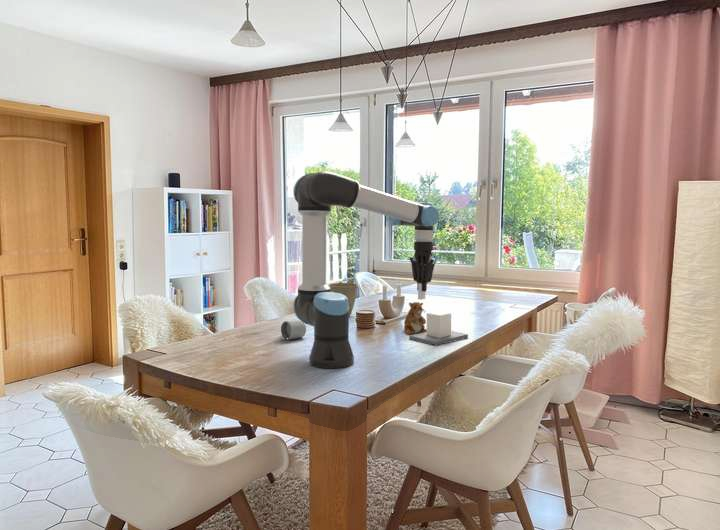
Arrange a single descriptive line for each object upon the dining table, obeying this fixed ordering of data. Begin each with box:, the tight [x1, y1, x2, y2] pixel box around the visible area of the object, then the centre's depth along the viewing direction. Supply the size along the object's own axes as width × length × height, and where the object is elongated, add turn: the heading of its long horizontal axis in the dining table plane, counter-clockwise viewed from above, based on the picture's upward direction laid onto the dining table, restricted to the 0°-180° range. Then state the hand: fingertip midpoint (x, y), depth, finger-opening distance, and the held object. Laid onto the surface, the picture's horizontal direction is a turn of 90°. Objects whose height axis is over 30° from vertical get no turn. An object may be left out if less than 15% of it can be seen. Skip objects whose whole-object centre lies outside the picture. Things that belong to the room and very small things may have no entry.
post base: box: [408, 330, 469, 346], centre depth 213 cm, size 20×14×8 cm
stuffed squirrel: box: [403, 301, 427, 335], centre depth 226 cm, size 10×14×13 cm
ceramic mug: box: [280, 319, 307, 341], centre depth 214 cm, size 11×8×8 cm
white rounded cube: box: [426, 310, 452, 338], centre depth 212 cm, size 7×7×9 cm
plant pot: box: [327, 282, 358, 317], centre depth 261 cm, size 15×15×16 cm
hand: (421, 299), depth 211 cm, fingers closed
